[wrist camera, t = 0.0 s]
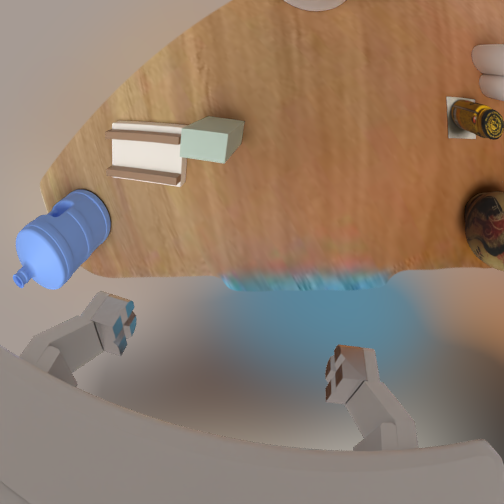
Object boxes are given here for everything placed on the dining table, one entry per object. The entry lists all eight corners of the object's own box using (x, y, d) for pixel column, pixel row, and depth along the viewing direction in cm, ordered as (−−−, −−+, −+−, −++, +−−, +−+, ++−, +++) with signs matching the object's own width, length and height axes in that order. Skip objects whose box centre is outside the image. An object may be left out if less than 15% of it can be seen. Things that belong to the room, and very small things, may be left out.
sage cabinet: (204, 115, 52) (176, 127, 40) (244, 121, 51) (228, 134, 40) (201, 137, 54) (174, 156, 42) (241, 143, 54) (224, 163, 42)
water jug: (122, 216, 67) (51, 289, 43) (97, 252, 74) (38, 322, 51) (78, 175, 62) (-3, 232, 39) (59, 215, 69) (-8, 275, 46)
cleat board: (119, 120, 54) (105, 125, 49) (189, 125, 53) (179, 130, 48) (119, 172, 60) (106, 181, 56) (185, 181, 60) (175, 191, 55)
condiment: (474, 99, 40) (508, 108, 30) (475, 138, 44) (507, 155, 34) (445, 96, 41) (477, 103, 31) (447, 137, 46) (477, 153, 36)
